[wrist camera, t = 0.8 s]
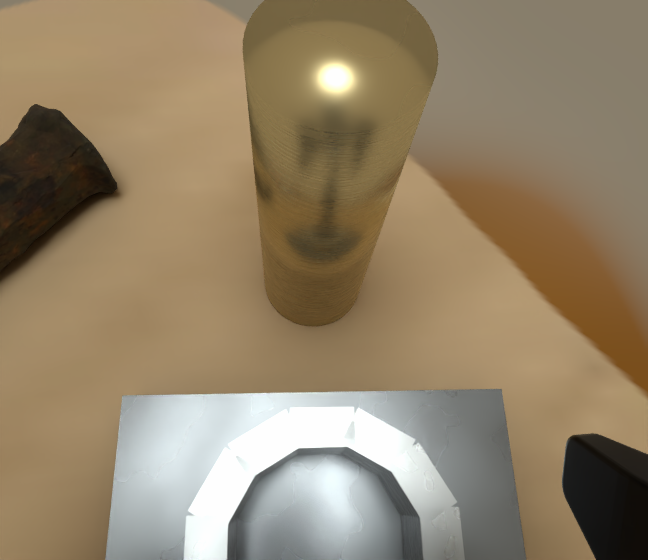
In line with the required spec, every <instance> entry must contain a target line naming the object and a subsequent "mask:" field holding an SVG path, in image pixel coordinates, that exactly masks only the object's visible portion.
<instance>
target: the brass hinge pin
mask: <svg viewBox="0 0 648 560" xmlns="http://www.w3.org/2000/svg"><path fill="white" fill-rule="evenodd" d="M243 59H244V70H245V80H246V90H247V101H248V111H249V122H250V132H251V143H252V153H253V164H254V174H255V185H256V195H257V205H258V216H259V226H260V237H261V247H262V258H263V268H264V279H265V287H266V292H267V295H268V298H269V300H270V302H271V304H272V305H273V307H274V308H275V309H276V310H277V311H278V312H279V313H280V314H281V315H282V316H284V317H285V318H286V319H288V320H290V321H292V322H294V323H297V324H300V325H305V326H321V325H326V324H329V323H332V322H334V321H336V320H338V319H340V318H341V317H343V316H344V315H345V314H346V313H347V312H348V311H349V310H350V309H351V307H352V306H353V305H354V303H355V301H356V299H357V296H358V293H359V290H360V288H361V285H362V282H363V279H364V276H365V273H366V271H367V268H368V265H369V262H370V259H371V256H372V254H373V251H374V248H375V245H376V242H377V239H378V237H379V234H380V231H381V228H382V225H383V222H384V220H385V217H386V214H387V211H388V208H389V206H390V203H391V200H392V197H393V194H394V191H395V189H396V186H397V183H398V180H399V177H400V174H401V172H402V169H403V166H404V163H405V160H406V157H407V155H408V152H409V149H410V146H411V143H412V140H413V138H414V135H415V132H416V129H417V126H418V124H419V121H420V118H421V115H422V112H423V109H424V107H425V103H426V101H427V98H428V95H429V92H430V90H431V87H432V84H433V81H434V78H435V75H436V71H437V66H438V51H437V45H436V41H435V38H434V35H433V33H432V31H431V29H430V27H429V25H428V24H427V22H426V20H425V19H424V18H423V16H422V15H421V14H420V13H419V12H418V11H417V10H416V8H415V7H413V6H412V5H411V4H410V3H409V2H408V1H407V0H265V1H264V2H262V3H261V4H260V5H259V7H258V8H257V9H256V10H255V12H254V13H253V15H252V16H251V18H250V20H249V22H248V24H247V27H246V30H245V33H244V38H243Z"/></svg>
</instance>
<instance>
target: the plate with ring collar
mask: <svg viewBox="0 0 648 560" xmlns="http://www.w3.org/2000/svg"><path fill="white" fill-rule="evenodd" d="M106 560H526V555H525V548H524V541H523V534H522V527H521V520H520V513H519V506H518V499H517V493H516V486H515V479H514V472H513V465H512V458H511V451H510V444H509V437H508V430H507V424H506V417H505V410H504V403H503V396H502V389H477V390H419V391H361V392H303V393H245V394H188V395H130V396H122V405H121V414H120V424H119V434H118V444H117V453H116V463H115V473H114V482H113V492H112V502H111V511H110V521H109V531H108V540H107V550H106Z"/></svg>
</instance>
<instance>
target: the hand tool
mask: <svg viewBox="0 0 648 560" xmlns="http://www.w3.org/2000/svg"><path fill="white" fill-rule="evenodd" d="M115 190H117V183H116V181H115V180H114V179H113V177H112V175H111V172H110V170H109V168H108V167H107V165H106V163H105V162H104V160H103V158H102V157H101V155H100V154H99V152H98V151H97V149H96V148H95V147H94V145H93V144H92V143H91V142H90V141H89V140H88V139H87V138H86V137H85V136H84V135H83V134H82V133H81V132H80V131H79V130H78V129H77V128H76V127H75V126H74V125H73V124H72V123H71V122H70V121H69V120H68V119H67V118H66V117H65V116H64V115H63V114H62V112H61V111H58V110H56V109H48V108H45V107H42V106H40V105H37V104H34V105H33V106H31V107H30V108H29V111H28V112H27V114H26V115H25V116H24V117H23V119H22V120H21V122H20V123H19V125H18V128H17V129H16V130H15V132H14V133H13V134H12V136H11V137H10V138H9V140H8V141H6V142H5V143H4V144H2V145H1V146H0V270H2V269H3V268H4V267H5V266H6V265H7V264H8V263H9V262H10V261H12V260H13V259H15V258H16V257H18V256H19V255H21V254H23V253H24V252H25V251H26V250H27V249H28V247H29V246H30V245H31V244H32V242H33V241H34V240H36V239H37V238H38V237H39V236H40V235H42V234H43V233H44V232H46V231H48V230H49V229H50V228H51V227H52V226H53V225H54V224H55V223H56V222H57V221H58V220H59V219H60V218H62V217H63V216H64V215H65V214H66V213H68V212H69V211H70V210H71V209H72V208H74V207H75V206H76V205H77V204H79V203H80V202H81V201H83V200H84V199H85V198H87V197H88V196H90V195H93V194H95V193H98V192H104V193H112V192H114V191H115Z"/></svg>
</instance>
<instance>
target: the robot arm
mask: <svg viewBox="0 0 648 560" xmlns="http://www.w3.org/2000/svg"><path fill="white" fill-rule="evenodd" d="M562 488H563V492H564V495H565V498H566V500H567V502H568V504H569V506H570V508H571V510H572V512H573V514H574V516H575V518H576V520H577V522H578V524H579V526H580V528H581V530H582V532H583V534H584V536H585V538H586V540H587V542H588V544H589V546H590V548H591V550H592V552H593V554H594V556H595V558H596V560H648V454H646V453H643V452H641V451H638V450H636V449H633V448H631V447H628V446H626V445H623V444H621V443H619V442H616V441H614V440H611V439H609V438H606V437H604V436H601V435H599V434H581V435H572V436H571V437H570V438H569V439H568V440H567V443H566V449H565V458H564V467H563V476H562Z"/></svg>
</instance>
